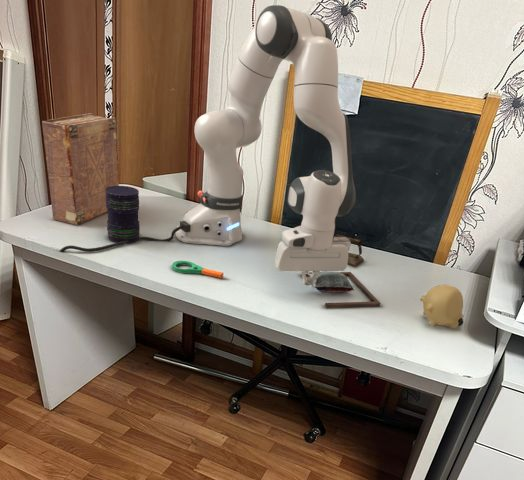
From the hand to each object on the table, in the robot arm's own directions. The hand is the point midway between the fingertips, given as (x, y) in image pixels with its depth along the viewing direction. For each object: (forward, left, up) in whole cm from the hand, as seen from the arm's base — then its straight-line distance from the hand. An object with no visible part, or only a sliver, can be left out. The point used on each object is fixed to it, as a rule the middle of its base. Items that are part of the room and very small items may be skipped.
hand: (307, 284), depth 138 cm
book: (-58, +63, -2) cm, 86 cm away
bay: (+10, 0, -2) cm, 10 cm away
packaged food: (+7, +1, -2) cm, 8 cm away
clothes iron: (+21, +22, -2) cm, 31 cm away
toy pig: (+30, -20, -2) cm, 36 cm away
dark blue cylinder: (-48, +39, -2) cm, 62 cm away
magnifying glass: (-29, +13, -2) cm, 32 cm away
